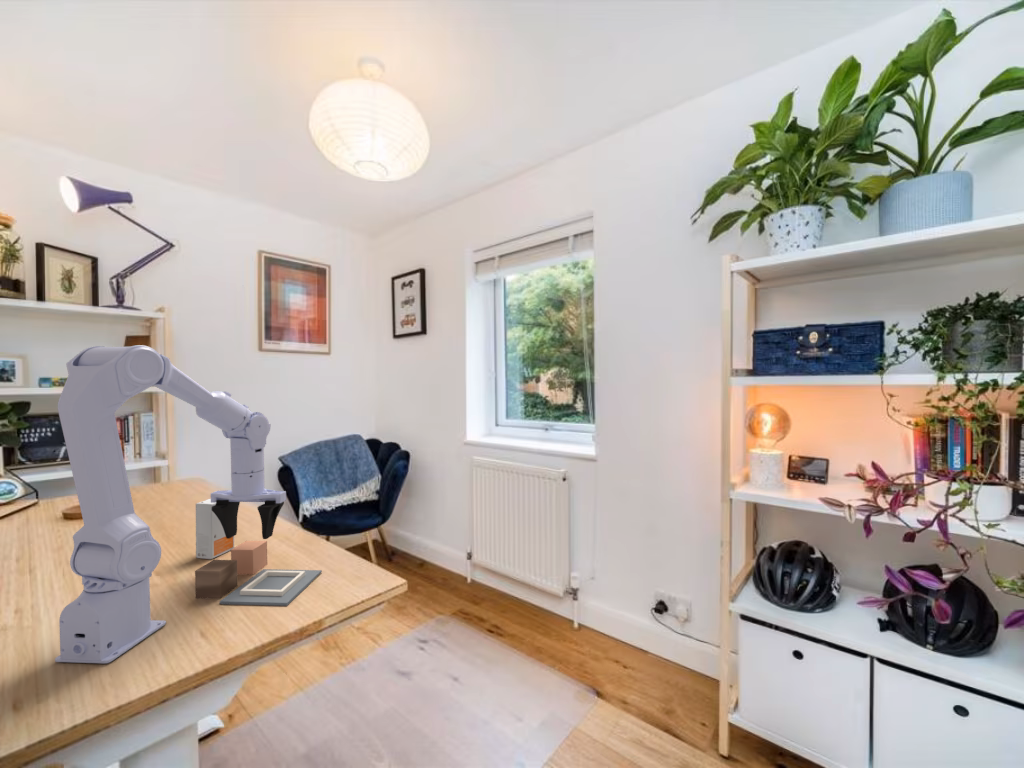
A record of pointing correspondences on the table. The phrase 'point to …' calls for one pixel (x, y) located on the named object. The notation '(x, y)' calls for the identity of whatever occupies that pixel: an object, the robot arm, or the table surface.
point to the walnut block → (216, 579)
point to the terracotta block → (250, 556)
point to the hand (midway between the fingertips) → (249, 536)
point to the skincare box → (210, 533)
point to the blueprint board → (272, 587)
